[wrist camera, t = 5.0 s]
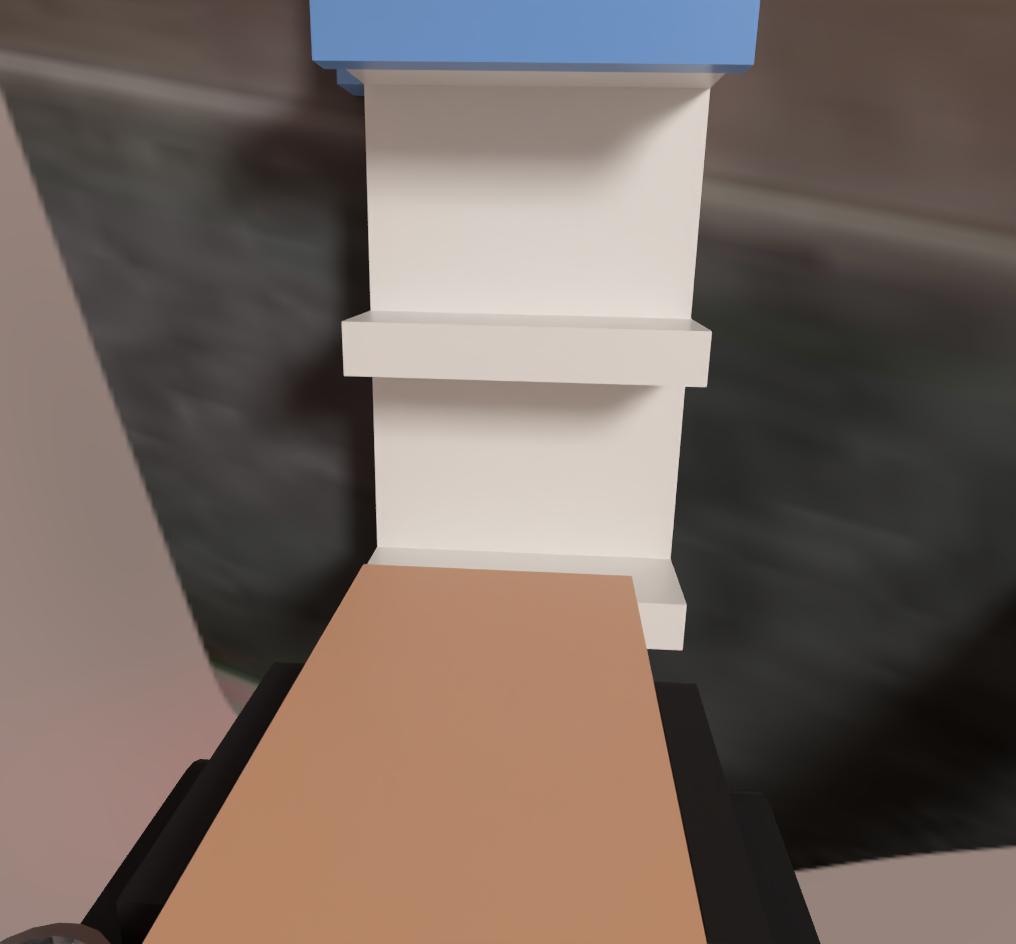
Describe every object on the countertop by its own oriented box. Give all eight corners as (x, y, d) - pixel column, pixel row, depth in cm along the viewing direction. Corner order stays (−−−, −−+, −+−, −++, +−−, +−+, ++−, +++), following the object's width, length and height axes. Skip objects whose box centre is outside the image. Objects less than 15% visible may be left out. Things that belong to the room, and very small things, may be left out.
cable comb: (341, -282, 22) (258, -484, 16) (736, -288, 22) (808, -498, 16) (369, 563, 30) (318, 649, 23) (665, 576, 29) (694, 667, 23)
